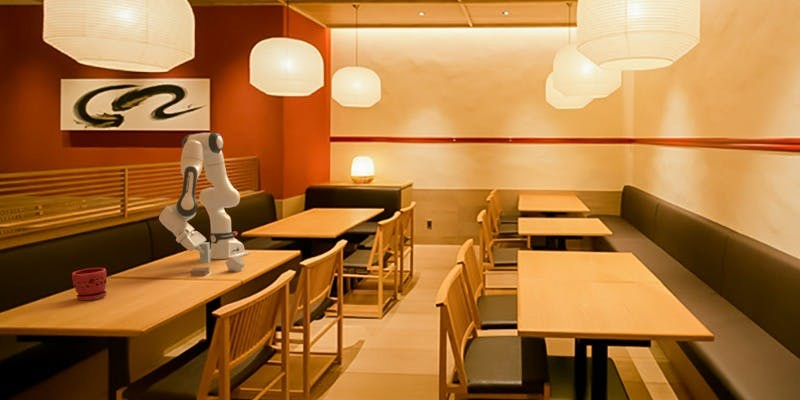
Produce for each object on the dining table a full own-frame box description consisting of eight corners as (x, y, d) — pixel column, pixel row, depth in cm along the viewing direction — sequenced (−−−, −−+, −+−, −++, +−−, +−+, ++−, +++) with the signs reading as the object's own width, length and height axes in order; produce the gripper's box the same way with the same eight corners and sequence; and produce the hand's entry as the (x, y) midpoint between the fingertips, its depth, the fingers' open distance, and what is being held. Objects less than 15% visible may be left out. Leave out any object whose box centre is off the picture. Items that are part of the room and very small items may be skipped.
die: (248, 271, 333) (242, 255, 337) (242, 266, 326) (237, 249, 329) (232, 278, 333) (227, 261, 337) (227, 272, 325) (221, 255, 329)
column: (202, 261, 339) (201, 242, 337) (210, 261, 339) (209, 242, 337) (200, 263, 335) (199, 243, 333) (208, 263, 335) (207, 243, 333)
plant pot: (98, 293, 290) (96, 266, 289) (113, 297, 282) (111, 269, 281) (68, 299, 280) (66, 271, 279) (82, 303, 272) (80, 274, 271)
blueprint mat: (205, 271, 333) (204, 270, 333) (222, 273, 326) (222, 273, 326) (181, 276, 321) (181, 275, 321) (198, 279, 314) (198, 278, 314)
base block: (195, 273, 326) (194, 267, 326) (209, 273, 327) (209, 267, 326) (191, 276, 320) (190, 270, 319) (205, 276, 320) (205, 269, 319)
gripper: (188, 233, 345) (207, 252, 347) (174, 241, 325) (195, 260, 326) (196, 225, 345) (216, 243, 346) (183, 232, 325) (204, 251, 326)
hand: (206, 251), depth 336 cm, fingers closed on column, 4 cm apart
